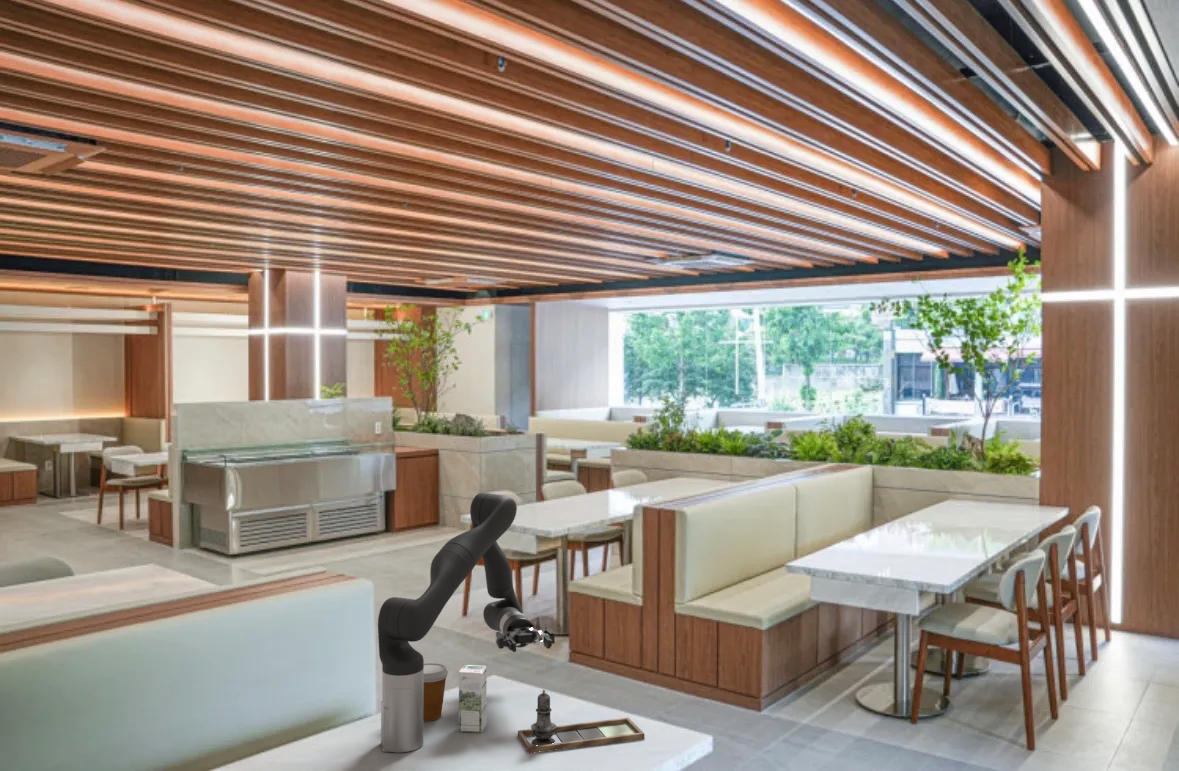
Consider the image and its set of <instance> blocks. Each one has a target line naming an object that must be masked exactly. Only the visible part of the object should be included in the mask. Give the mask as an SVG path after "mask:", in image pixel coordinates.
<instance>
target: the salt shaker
mask: <svg viewBox="0 0 1179 771" xmlns="http://www.w3.org/2000/svg"><path fill="white" fill-rule="evenodd" d="M552 710H553V709H552V708H551V696H550V695H549V694H548V693H546V691H545V689H543V690H542V693H540V694H538V696H537V708H535V711H536V722H535V723H532V724H531V725H530V729H532V732H533V734H534V735H533V736H534V737H535V738H534V739H532V741H531V744H532V745H534V744H535V745H534V746H536V745H546V744H552V743H554V742H555V743H556V740H555V739H554V738H552V737H553V736H554V735H555V733H554V732H555V729H556V726H557V725H556V724H555V723H553V722H552V720H551V713H552Z"/></svg>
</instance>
